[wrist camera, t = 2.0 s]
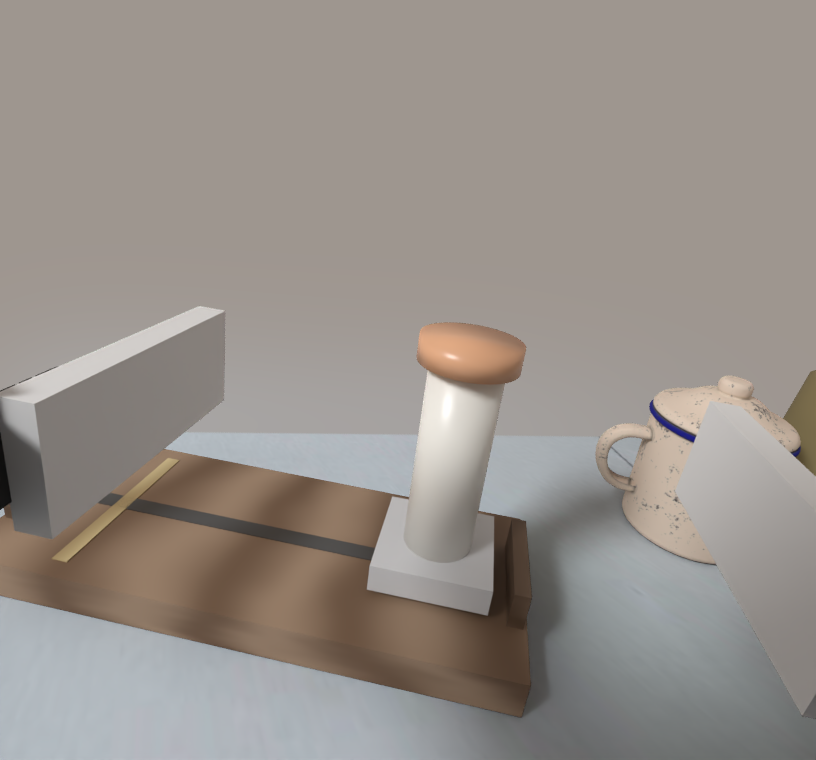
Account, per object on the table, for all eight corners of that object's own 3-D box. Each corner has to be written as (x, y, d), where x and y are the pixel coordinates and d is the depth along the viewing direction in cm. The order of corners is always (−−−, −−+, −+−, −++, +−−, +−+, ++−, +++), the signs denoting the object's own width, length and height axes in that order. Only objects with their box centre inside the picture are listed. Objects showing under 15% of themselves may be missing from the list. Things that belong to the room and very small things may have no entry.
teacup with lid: (718, 500, 43) (773, 367, 39) (778, 581, 35) (857, 421, 30) (569, 476, 44) (606, 341, 39) (592, 548, 35) (642, 388, 31)
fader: (489, 537, 31) (535, 331, 26) (487, 615, 26) (545, 373, 21) (389, 517, 32) (416, 312, 27) (366, 589, 26) (395, 347, 22)
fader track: (514, 544, 35) (526, 492, 33) (521, 717, 24) (540, 652, 22) (116, 464, 38) (111, 413, 36) (-43, 585, 27) (-60, 519, 25)
